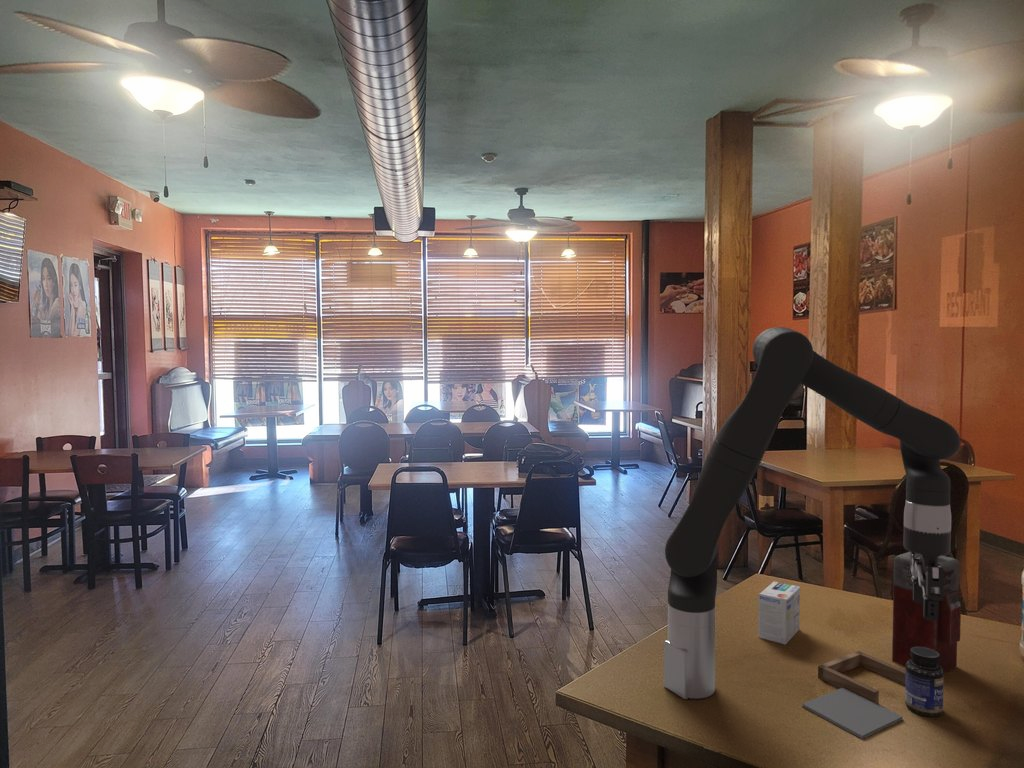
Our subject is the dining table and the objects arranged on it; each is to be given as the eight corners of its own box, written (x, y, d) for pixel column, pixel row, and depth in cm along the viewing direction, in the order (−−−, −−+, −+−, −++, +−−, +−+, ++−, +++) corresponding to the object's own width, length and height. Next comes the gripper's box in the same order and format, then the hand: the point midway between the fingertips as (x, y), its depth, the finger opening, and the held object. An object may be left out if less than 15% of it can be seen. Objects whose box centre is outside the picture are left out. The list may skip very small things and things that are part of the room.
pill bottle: (941, 721, 121) (942, 662, 120) (902, 711, 125) (903, 653, 124) (944, 706, 126) (945, 650, 125) (907, 697, 129) (908, 641, 129)
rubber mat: (861, 739, 116) (861, 735, 116) (802, 706, 126) (802, 703, 126) (902, 719, 122) (902, 716, 122) (842, 690, 132) (842, 687, 132)
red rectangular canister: (946, 682, 135) (950, 547, 133) (891, 660, 144) (893, 533, 143) (969, 671, 139) (972, 539, 138) (913, 650, 149) (916, 527, 147)
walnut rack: (874, 705, 127) (874, 692, 127) (817, 677, 137) (818, 665, 137) (915, 686, 133) (915, 674, 133) (858, 662, 144) (858, 650, 144)
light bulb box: (772, 622, 165) (772, 580, 164) (800, 629, 160) (801, 586, 160) (757, 637, 157) (757, 592, 156) (786, 645, 152) (787, 599, 152)
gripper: (961, 538, 116) (959, 628, 117) (940, 517, 129) (938, 599, 130) (912, 534, 118) (910, 623, 119) (896, 514, 132) (894, 594, 133)
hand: (924, 610), depth 125 cm, fingers open, 8 cm apart
